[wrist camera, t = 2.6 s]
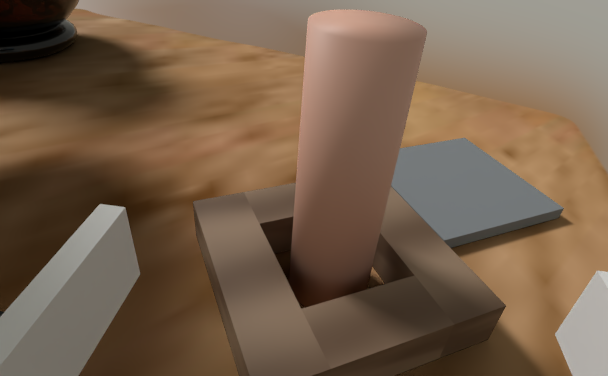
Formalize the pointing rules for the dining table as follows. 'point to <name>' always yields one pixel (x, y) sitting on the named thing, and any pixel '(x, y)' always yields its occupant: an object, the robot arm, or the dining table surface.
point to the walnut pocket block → (345, 310)
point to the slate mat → (467, 192)
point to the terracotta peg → (348, 145)
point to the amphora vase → (35, 28)
